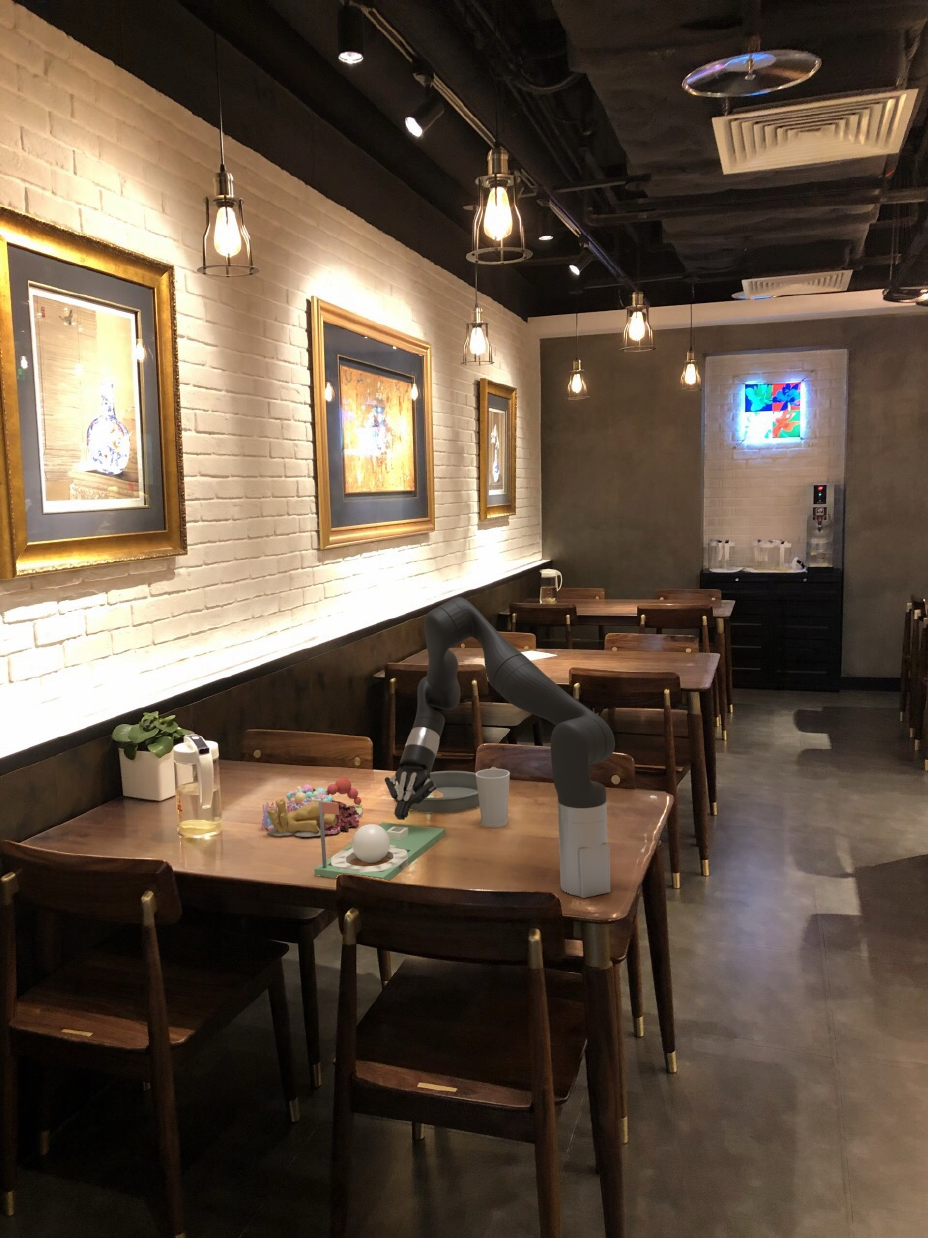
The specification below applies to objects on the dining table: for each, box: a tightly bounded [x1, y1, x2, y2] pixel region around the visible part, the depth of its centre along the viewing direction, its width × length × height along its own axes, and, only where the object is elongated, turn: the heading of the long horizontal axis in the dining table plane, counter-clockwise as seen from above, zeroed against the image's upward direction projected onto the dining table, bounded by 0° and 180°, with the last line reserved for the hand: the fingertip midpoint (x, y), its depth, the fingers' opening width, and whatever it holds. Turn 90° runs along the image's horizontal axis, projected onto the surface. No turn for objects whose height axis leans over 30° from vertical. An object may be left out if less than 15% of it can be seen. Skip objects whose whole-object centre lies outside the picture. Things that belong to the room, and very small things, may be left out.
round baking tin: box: [395, 770, 480, 814], centre depth 242 cm, size 25×25×4 cm
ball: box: [351, 823, 390, 864], centre depth 201 cm, size 8×8×8 cm
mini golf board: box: [313, 801, 446, 881], centre depth 204 cm, size 30×16×16 cm, turn 157°
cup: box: [475, 768, 511, 829], centre depth 222 cm, size 8×8×12 cm
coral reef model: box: [261, 777, 364, 838], centre depth 229 cm, size 25×24×9 cm
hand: (399, 818), depth 212 cm, fingers closed
